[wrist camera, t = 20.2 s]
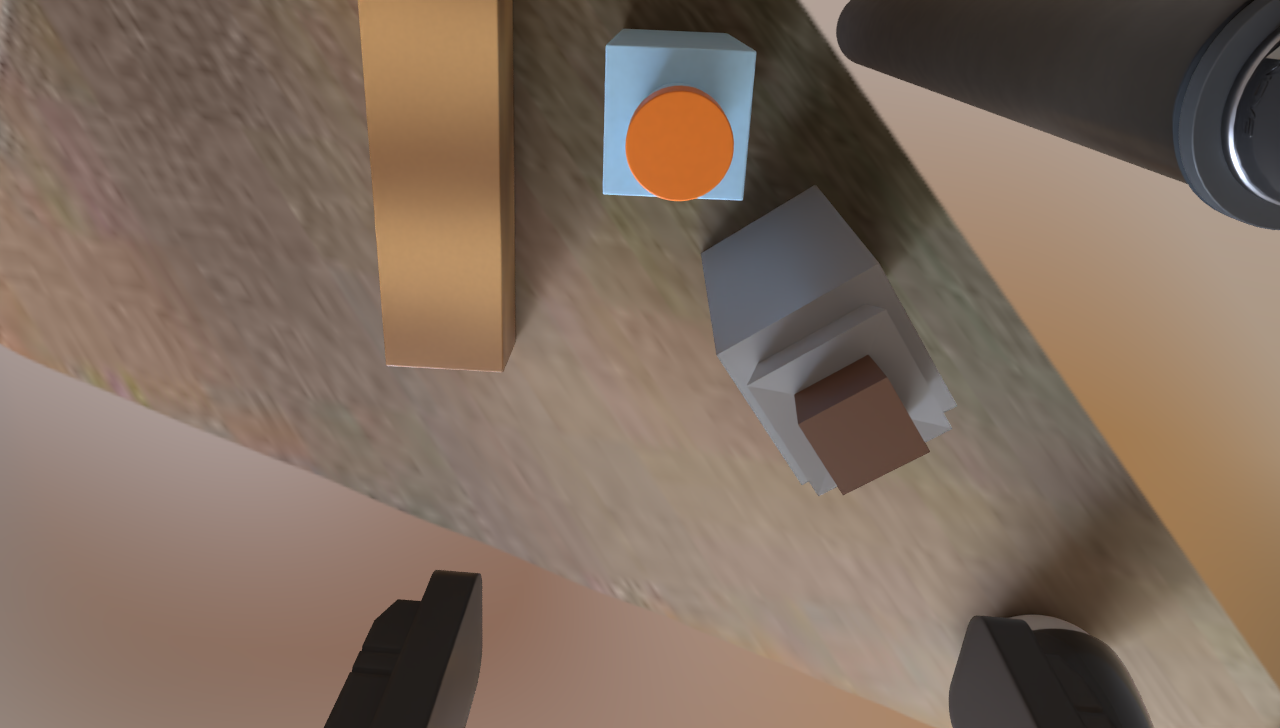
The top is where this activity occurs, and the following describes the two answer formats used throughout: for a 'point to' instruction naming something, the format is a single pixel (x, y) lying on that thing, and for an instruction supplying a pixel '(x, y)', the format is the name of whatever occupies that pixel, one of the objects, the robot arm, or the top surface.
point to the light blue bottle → (677, 114)
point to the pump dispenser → (1093, 668)
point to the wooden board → (442, 178)
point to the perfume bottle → (822, 346)
